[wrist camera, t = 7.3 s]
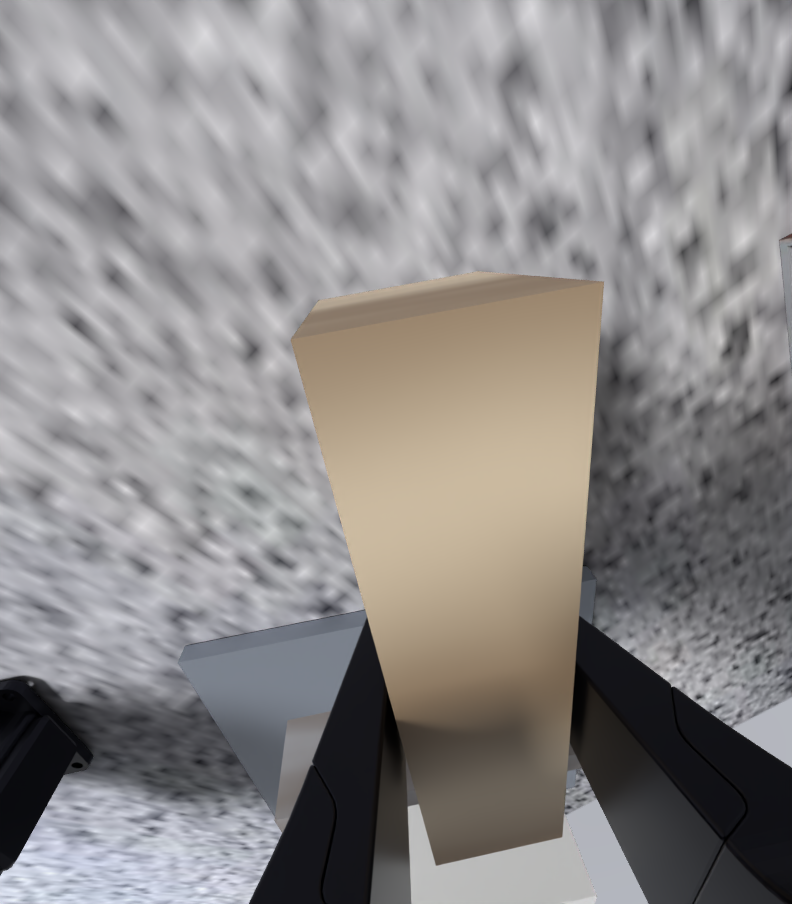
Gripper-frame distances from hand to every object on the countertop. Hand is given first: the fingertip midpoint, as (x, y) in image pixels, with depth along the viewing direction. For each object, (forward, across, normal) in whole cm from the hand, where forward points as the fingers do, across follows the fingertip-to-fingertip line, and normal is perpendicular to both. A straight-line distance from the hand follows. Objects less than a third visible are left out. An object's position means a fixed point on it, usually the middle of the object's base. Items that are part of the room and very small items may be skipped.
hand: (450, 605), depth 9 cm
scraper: (+1, 0, -1) cm, 2 cm away
